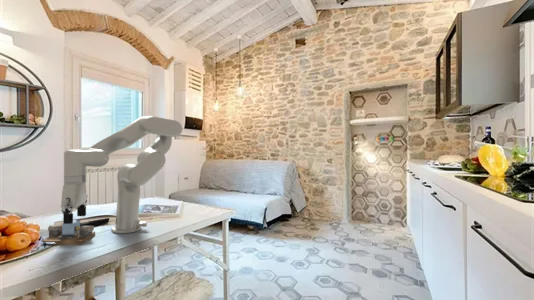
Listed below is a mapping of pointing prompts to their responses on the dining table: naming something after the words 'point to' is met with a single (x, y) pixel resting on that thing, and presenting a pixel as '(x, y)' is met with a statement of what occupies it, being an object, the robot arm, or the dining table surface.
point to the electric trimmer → (95, 222)
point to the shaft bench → (57, 237)
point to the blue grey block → (71, 229)
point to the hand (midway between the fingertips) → (75, 219)
